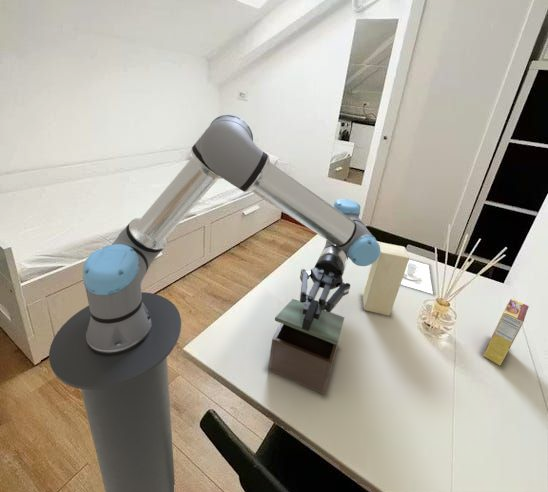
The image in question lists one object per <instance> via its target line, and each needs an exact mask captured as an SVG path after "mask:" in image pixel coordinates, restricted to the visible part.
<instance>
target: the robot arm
mask: <svg viewBox="0 0 548 492" xmlns="http://www.w3.org/2000/svg"><path fill="white" fill-rule="evenodd" d="M220 179H222V180H225V181H226V182H228V183H229V184H230V185H232V186H234V187H235V188H237V189H239V190H240V191H241V192H243V193H248V192H252V193H254V194H255V195H257V196H258V197H260V198H261V199H263V200H264V201H266V202H267V203H269V204H270V205H272V206H273V207H275V208H277V209H278V210H280V211H282V212H283V213H284V214H286V215H288V216H289V217H290V218H292V219H294V220H296V221H297V222H298V223H300V224H301V225H303V226H304V227H306V228H307V229H309V230H311V231H312V232H314V233H315V234H317V235H319V236H320V237H321V238H323V239H324V240H326V241H325V245H324V247H323V250H322V251H321V253H320V255H319V257H318V260H317V261H316V262H315V265H314V267H312V268H311V269H310V270H308V271H307V270H306V269H305V268H301V269H300V275H299V279H300V281H301V284H300V285H301V286H300V295H299V301H300V302H302V303H305V305H304V307H303V314H305V317H304V320H303V325H302V329H304V330H307V331H309V329H310V327H311V324H312V322H313V319H314V318H315V319H319V318H320V315H321V312H322V311H323V310H325V311H327V312H331V313H332V311H333V310H334V308H335V307H336V306H337V305H338V303H339V302H341V301H340V300H341V299H342V298H343V297H345V296H346V295H349V293H350V289H351V284H350V283H349V282H346V283H344V280H343V275H344V273H345V269H346V266H347V263H348V259H349V260H350V261H351V262H352V263H353V264H354V265H356V266H359V267H368V266H371V265H372V263H374V262H375V261H376V260H377V259H378V257H379V255H380V246H379V244H378V241H377V239H376V237H375V236H374V235H373V234H372V233H371V232H370V230H369V229H368V228H367V227H366V225H365V224H364V223H363V221H362V220H361V218H360V215H361V205H360V204H359V203H358V202H357V201H355V200H352V199H347V198H340V199H337V200H335V201H334V203H333V205H332V204H330V203H329V202H327V200H325V199H323V198H322V197H320V196H319V195H318V194H316V193H315V192H314V191H312V190H311V189H309V188H307V187H306V186H305V185H303V184H302V183H300V182H299V181H297V179H295V178H293V176H290V175H289V174H288V173H286V172H285V171H284V170H282V169H281V168H279V167H278V166H277V165H275V164H273V163H272V162H271V158H270V155H269V154H268V153H266V152H265V151H263V150H262V149H261V148H260V147H259V146H258V145H256V143H255V142H254V135H253V132H252V129H251V128H250V126H249V125H248V124H247V122H246V121H245V120H244V119H243V118H240V117H239V116H236V115H232V114H222V115H219V116H217V117H216V118H214V119H213V120H212V121H211V122H210V124H209V126H208V127H207V128H206V129H205V131H204V132H203V133H202V134H201V135H200V137H199V138H198V139H197V140H196V142H195V143H194V144H193V146H192V147H191V157H190V159H189V160H188V161H187V162H186V163H185V164H184V166H183V167H182V168H181V169H180V171H179V172H178V173H177V174H176V176H175V177H174V178H173V179H172V180H171V182H170V183H169V184H168V185H167V186H166V188H165V189H164V190H163V191H162V192H161V193H160V195H159V196H158V197H157V198H156V200H154V202H153V203H152V204H151V206H149V208H148V209H147V210H146V211H145V213H144V214H143V215H142V216H141V217H136V218H135V217H134V218H133V219H132V220H131V221H129V223H128V224H127V225H126V227H125V228H123V229H122V230H121V232H119V234H118V236H117V237H116V238H115V240H114V241H113V242H112V244H110V245H106V246H102V249H99V248H98V249H96V250H95V251H93V252H92V253H91V254H90V255H88V257H87V258H86V259H85V261H84V262H83V266H82V281H83V285H84V288H85V294H86V298H87V302H88V306H89V308H90V313H91V317H90V322H89V326H88V328H87V332H86V340H87V344H88V347H89V348H90V350H91V351H93V352H94V353H96V354H99V355H104V356H112V355H119V354H122V353H125V352H128V351H130V350H132V349H134V348H136V347H137V346H138V345H140V344H141V343H142V342H143V341H144V340H145V339H146V338H147V337H148V335H149V333H150V331H151V328H152V321H151V317H152V316H151V314H150V313H149V312H148V310H147V309H146V307H145V305H144V304H143V302H142V294H141V292H142V281H143V280H144V278H145V276H146V274H147V272H148V270H149V268H150V266H151V265H152V263H153V262H154V260H155V259H156V258H157V257H158V256H159V254H160V253H162V251H163V250H164V249H165V248H166V246H167V245H168V241H169V239H168V236H170V234H171V233H172V232H173V231H174V230H175V228H176V227H177V226H178V225H179V224H180V223H181V222H182V220H183V219H184V218H186V216H187V215H188V214H189V212H190V211H192V209H193V208H194V207H195V206H196V205H197V204H198V203H199V201H200V200H201V199H202V198H203V197H204V196H205V195H206V193H208V191H209V190H210V189H211V188H212V187H213V185H215V183H217V181H219V180H220ZM309 279H311V281H312V283H313V284H312V286H311V289H310V291H309V292H308V291H307V290H308V280H309ZM320 289H322V292H321V294H320V297H319V298H318V300H316V296H317V294H318V293H319V291H320ZM334 289H336V290H335V291H334V293H333V294H332V295H331V296H330V297H329V295H330V292H331V290H334ZM307 292H308V294H307ZM328 297H329V299H328Z"/></svg>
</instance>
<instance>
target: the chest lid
mask: <svg viewBox="0 0 548 492" xmlns="http://www.w3.org/2000/svg"><path fill="white" fill-rule="evenodd" d="M304 305H305V303H302V302H300V300H299V299H298V300H297V299H295V298H291V300H290V301H289V302H288V303H287V304H286V305H285V307H284V308H282V310H281V311H280V312H279V313H278V314H277V315H276V316H275V317H274V322H276V323H280V324H281V323H282V324H285V325H287V326H290V327H292V328H295V329H297V330H300V331H302V332H305V333H308V334H310V335H313V336H315V337H318V338H320V339H323V340H325V341H328V342H330V343H333V344H335V345H337V343H338V344H339V341H338V340H340V337H341V333H342V329H343V325H344V324H343V323H344V321H345V317H344V316H341V315H339V314H336V313H333V312H332V311H331V312H327V311H326V310H323V311H322V312H321V315H320V318H319V319H315V318H314V319H313V322H312V324H311V327H310V329H309V331H307V330H304V329H302V325H303V320H304V317H305V314H303V307H304ZM340 332H341V333H340ZM339 336H340V337H339ZM337 346H338V345H337Z"/></svg>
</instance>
